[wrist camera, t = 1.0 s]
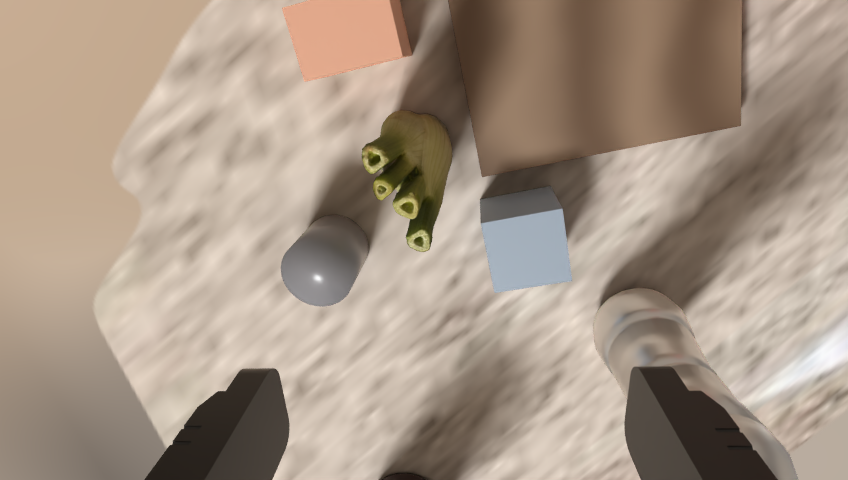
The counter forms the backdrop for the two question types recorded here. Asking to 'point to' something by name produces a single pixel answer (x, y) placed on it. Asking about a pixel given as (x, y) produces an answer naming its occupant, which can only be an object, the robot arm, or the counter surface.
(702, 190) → the counter surface
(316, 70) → the terracotta block
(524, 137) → the walnut board
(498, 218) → the smoky blue cube
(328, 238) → the grey rounded capsule
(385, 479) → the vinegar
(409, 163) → the fennel bulb
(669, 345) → the plastic bottle
